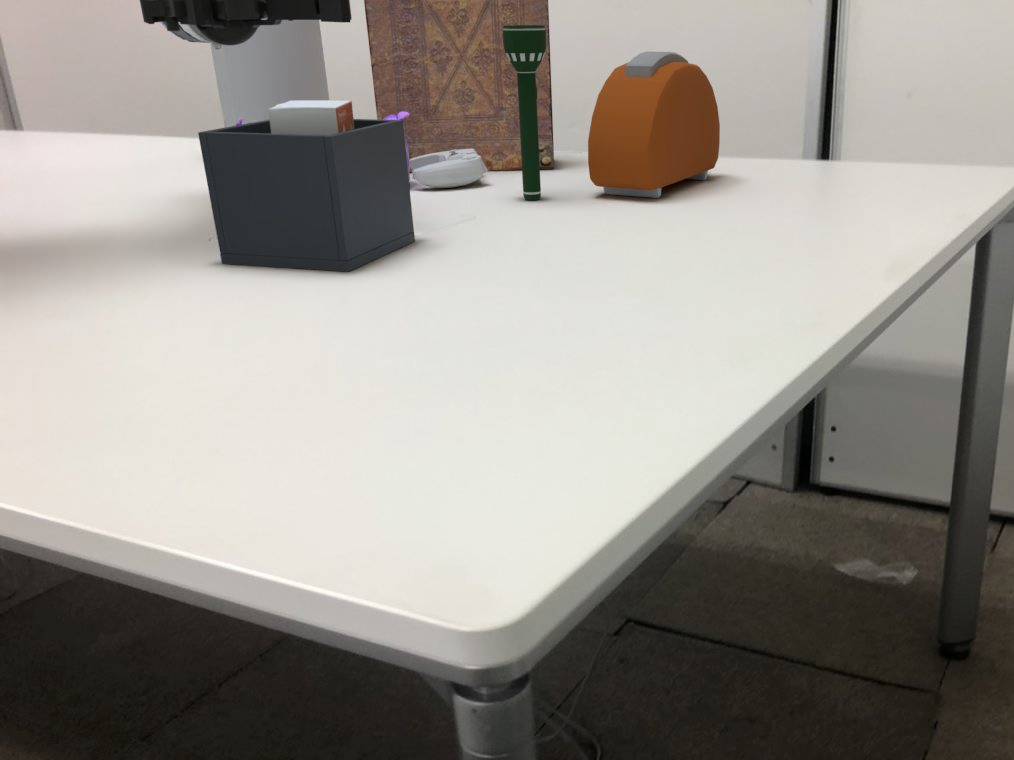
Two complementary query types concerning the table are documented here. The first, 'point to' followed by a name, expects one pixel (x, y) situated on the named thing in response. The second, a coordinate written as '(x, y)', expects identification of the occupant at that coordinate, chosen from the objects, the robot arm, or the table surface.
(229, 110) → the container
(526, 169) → the flashlight
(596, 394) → the table surface
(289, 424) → the table surface
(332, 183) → the dark grey square bin
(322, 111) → the small box
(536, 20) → the book
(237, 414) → the table surface
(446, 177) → the game controller
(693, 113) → the orange toaster
